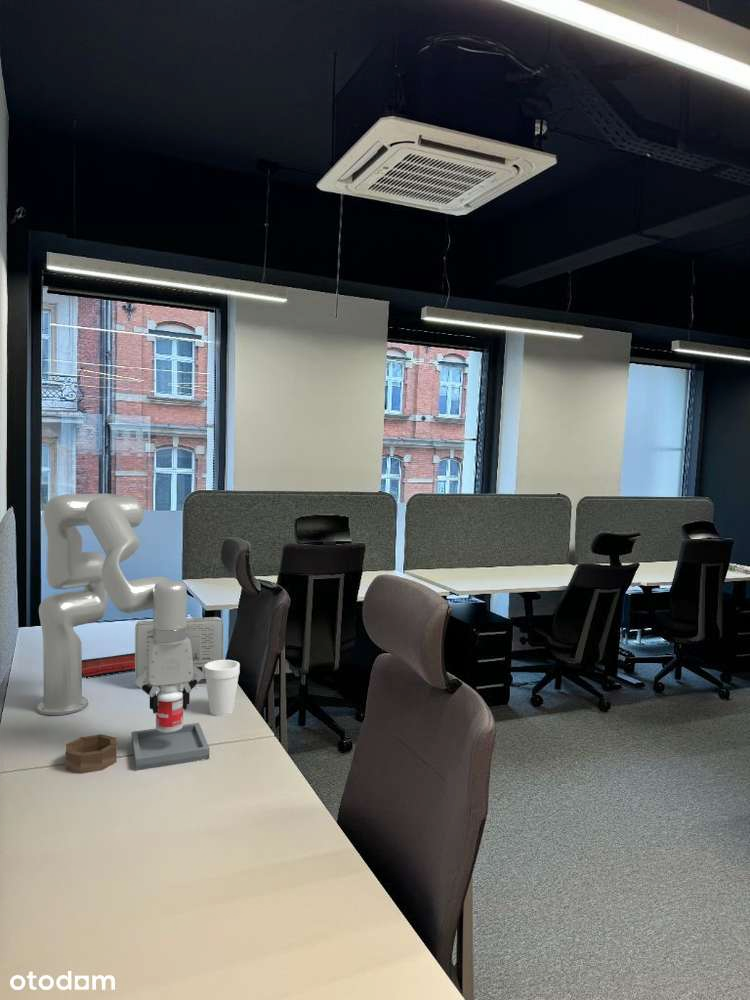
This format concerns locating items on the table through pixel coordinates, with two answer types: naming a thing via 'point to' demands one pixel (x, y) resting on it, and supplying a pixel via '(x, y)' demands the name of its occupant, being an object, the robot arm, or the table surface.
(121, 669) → the binder
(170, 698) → the pill bottle
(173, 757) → the tray
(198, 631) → the network device
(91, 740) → the holder ring
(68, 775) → the table surface
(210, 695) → the foam cup
